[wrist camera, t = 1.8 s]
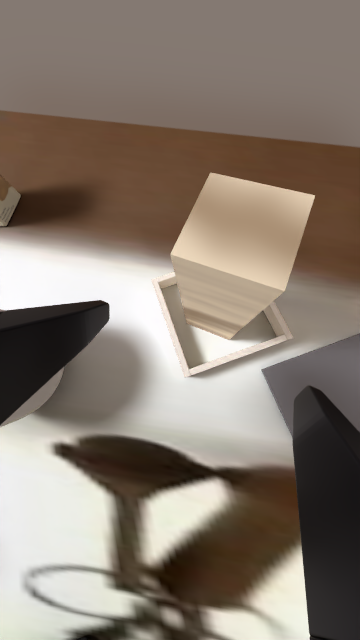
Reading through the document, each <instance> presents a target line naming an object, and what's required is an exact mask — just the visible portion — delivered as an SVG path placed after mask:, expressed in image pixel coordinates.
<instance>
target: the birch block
mask: <svg viewBox="0 0 360 640" xmlns="http://www.w3.org/2000/svg"><path fill="white" fill-rule="evenodd" d="M314 197H315V195H310V194H305V193H301V192H296V191H292V190H287V189H283V188H278V187H274V186H269V185H265V184H260V183H256V182H251V181H247V180H242V179H237V178H233V177H228V176H224V175H219V174H215V173H210V175H209V177H208V179H207V181H206V183H205V185H204V187H203V189H202V191H201V193H200V195H199V197H198V199H197V201H196V203H195V205H194V207H193V209H192V211H191V213H190V215H189V217H188V220H187V222H186V224H185V226H184V228H183V230H182V232H181V234H180V236H179V238H178V240H177V242H176V244H175V246H174V248H173V250H172V252H171V254H170V255H171V259H172V263H173V267H174V272H175V276H176V280H177V284H178V289H179V293H180V297H181V301H182V305H183V310H184V314H185V318H186V322H187V324H190V325H192V326H195V327H197V328H200V329H202V330H205V331H207V332H210V333H212V334H215V335H218V336H220V337H223V338H225V339H228V340H229V339H231V338H232V337H233V336H234V335H235V334H236V333H237V332H239V331H240V330H241V329H242V328H243V327H244V326H245V325H247V324H248V323H249V322H250V321H251V320H252V319H253V318H255V317H256V316H257V315H258V314H259V313H260V312H261V311H263V310H264V309H265V308H266V307H267V306H268V305H269V304H271V303H272V302H273V301H274V300H275V299H276V298H277V297H279V296H280V295H281V294H282V293H283V292H284V291H285V288H286V285H287V282H288V279H289V276H290V273H291V270H292V267H293V263H294V260H295V257H296V254H297V251H298V248H299V245H300V241H301V238H302V235H303V232H304V229H305V226H306V223H307V219H308V216H309V213H310V210H311V207H312V204H313V201H314Z"/></svg>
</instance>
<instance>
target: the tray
mask: <svg viewBox="0 0 360 640" xmlns="http://www.w3.org/2000/svg"><path fill="white" fill-rule="evenodd" d="M152 283H153V286H154V289H155V292H156V295H157V298H158V300H159V303H160V306H161V309H162V312H163V315H164V318H165V321H166V324H167V327H168V330H169V333H170V336H171V339H172V342H173V345H174V347H175V350H176V353H177V356H178V359H179V362H180V365H181V368H182V371H183V374H184V377H188V376H191V375H193V374H196V373H199V372H202V371H204V370H207V369H210V368H213V367H215V366H218V365H221V364H224V363H226V362H229V361H232V360H235V359H237V358H240V357H243V356H245V355H248V354H251V353H254V352H256V351H259V350H262V349H265V348H267V347H270V346H273V345H276V344H278V343H281V342H284V341H287V340H289V339H292V338H294V337H293V335H292V333H291V332H290V330H289V328H288V326H287V324H286V322H285V320H284V319H283V317H282V315H281V313H280V311H279V309H278V307H277V306H276V304H275V302H274V301H273V302H272V303H271V304H269V305H268V306H267V307H266V308H265V309H264V310H263V311H264V313H265V315H266V317H267V319H268V320H269V322H270V324H271V326H272V328H273V330H274V332H275V334H276V336H277V337H276V338H273V339H270V340H268V341H265V342H262V343H260V344H257V345H254V346H251V347H249V348H246V349H243V350H240V351H238V352H235V353H232V354H229V355H227V356H224V357H221V358H218V359H216V360H213V361H210V362H208V363H205V364H202V365H199V366H197V367H194V368H191V369H189V367H188V364H187V361H186V358H185V356H184V353H183V350H182V347H181V344H180V341H179V339H178V336H177V333H176V330H175V327H174V324H173V322H172V319H171V316H170V313H169V310H168V307H167V304H166V302H165V299H164V296H163V293H162V290H161V289H163V288H166V287H168V286H171V285H174V284H177V280H176V276H175V272H171V273H169V274H166V275H163V276H160V277H158V278H155V279H152Z"/></svg>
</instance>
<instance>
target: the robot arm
mask: <svg viewBox="0 0 360 640" xmlns="http://www.w3.org/2000/svg"><path fill="white" fill-rule="evenodd" d="M108 321H109V304H108V303H106V302H104V301H101V300H97V301H88V302H79V303H70V304H61V305H52V306H43V307H34V308H25V309H16V310H7V311H0V425H1V424H2V423H4V422H5V421H6V420H7V419H8V418H9V417H10V416H11V415H12V414H13V413H14V412H15V411H17V410H18V409H19V408H20V407H21V406H22V405H23V404H24V403H25V402H26V401H27V400H28V399H30V398H31V397H32V396H33V395H34V394H35V393H36V392H37V391H38V390H39V389H40V388H41V387H43V386H44V385H45V384H46V383H47V382H48V381H49V380H50V379H51V378H52V377H53V376H54V375H56V374H57V373H58V372H59V371H60V370H61V369H62V368H63V367H64V366H65V365H66V364H67V363H69V362H70V361H71V360H72V359H73V358H74V357H75V356H76V355H77V354H78V353H79V352H80V351H82V350H83V349H84V348H85V347H86V346H87V345H88V344H89V343H90V342H91V341H92V339H93V338H94V337H95V336H96V335H97V334H98V333H99V331H100V330H101V329H102V328H103V327H104V326H105V325H106V324H107V322H108ZM293 452H294V464H295V475H296V486H297V498H298V509H299V521H300V532H301V543H302V555H303V566H304V577H305V589H306V600H307V611H308V623H309V633H310V640H360V432H359V431H358V430H357V429H356V428H355V427H354V425H353V424H352V423H351V422H350V421H349V420H348V419H347V418H346V417H345V416H344V415H343V413H342V412H341V411H340V410H339V409H338V408H337V407H336V406H335V405H334V404H333V403H332V401H331V400H330V399H329V398H328V397H327V396H326V395H325V394H324V393H323V392H322V391H321V390H320V389H318V388H315V387H313V386H310V385H308V386H306V387H305V388H304V389H303V390H302V391H301V392H300V393H299V394H298V395H297V396H296V397H295V399H294V403H293ZM78 640H88V638H86V637H83V638H80V639H78Z"/></svg>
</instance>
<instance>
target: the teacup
mask: <svg viewBox="0 0 360 640" xmlns="http://www.w3.org/2000/svg"><path fill="white" fill-rule="evenodd" d="M0 311H5V310H1V309H0ZM63 371H64V367H63V368H62V369H61V370H60V371H59V372H58V373H57V374H56V375H54V376H53V377H52V378H51V379H50V380H49V381H48V382H47V383H46V384H45V385H44V386H43V387H41V388H40V389H39V390H38V391H37V392H36V393H35V394H34V395H33V396H32V397H31V398H30V399H28V400H27V401H26V402H25V403H24V404H23V405H22V406H21V407H20V408H19V409H18V410H17V411H15V412H14V413H13V414H12V415H11V416H10V417H9V418H8V419H7V420H6V421H5V422H4V423H2V424H1V425H0V427H2V426H5V425H7V424H9V423H12V422H14V421H17V420H19V419H21V418H23V417H25V416H27V415H29V414H31V413H32V412H34V411H35V410H37V409H38V408H39V407H41V406H42V405H43V404H44V403H45V402H46V401H47V400H48V399H49V398H50V397H51V396H52V394H53V393H54V392H55V390H56V388H57V387H58V385H59V383H60V381H61V378H62V375H63Z"/></svg>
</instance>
